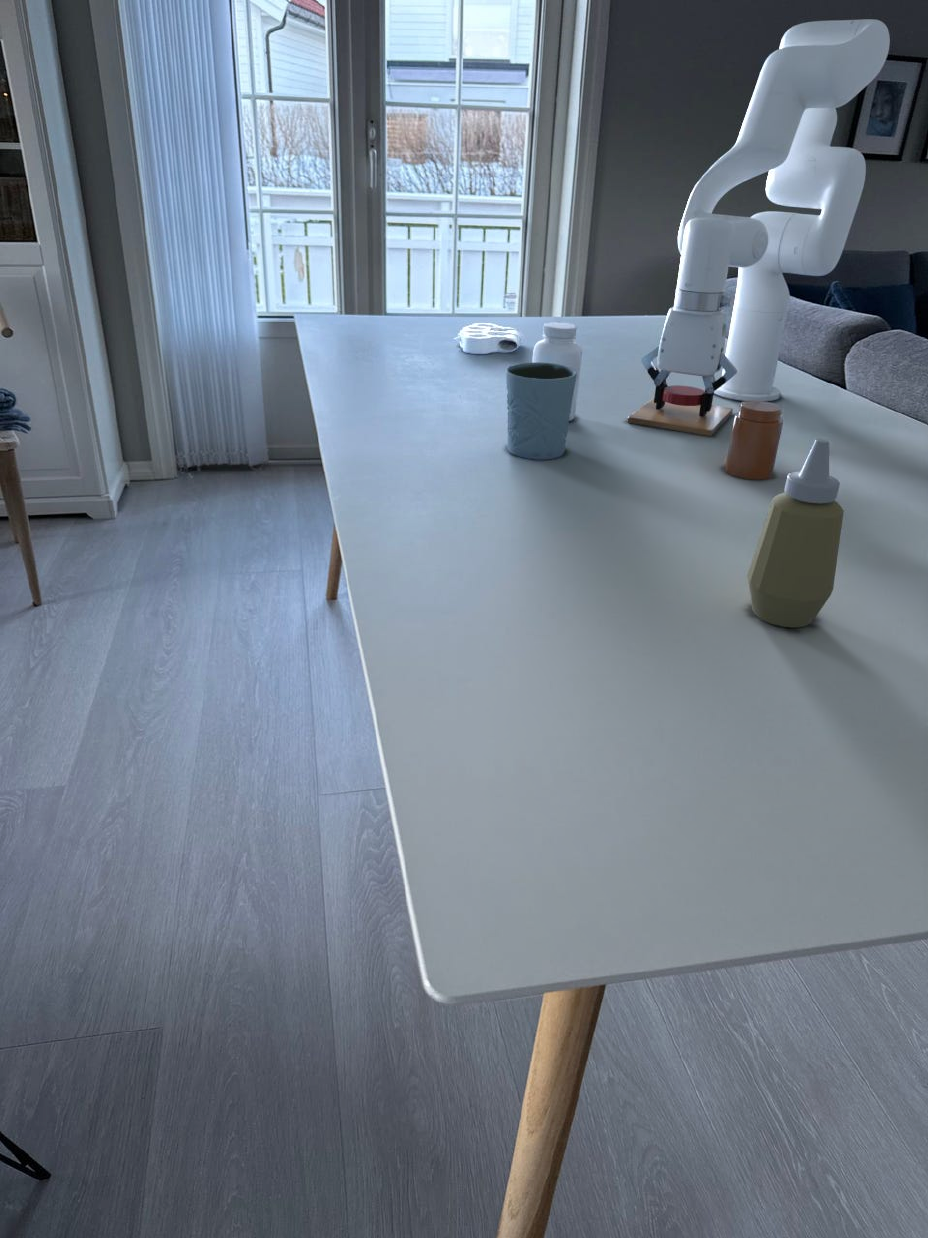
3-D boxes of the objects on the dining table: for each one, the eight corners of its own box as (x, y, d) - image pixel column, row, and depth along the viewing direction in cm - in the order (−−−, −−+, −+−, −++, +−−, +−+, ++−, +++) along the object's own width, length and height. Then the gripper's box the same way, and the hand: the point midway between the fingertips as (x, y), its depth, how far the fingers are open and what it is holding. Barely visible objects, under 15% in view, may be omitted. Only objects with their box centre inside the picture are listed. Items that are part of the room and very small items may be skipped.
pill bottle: (573, 425, 148) (582, 331, 141) (524, 420, 149) (531, 327, 142) (577, 412, 155) (586, 322, 148) (531, 408, 156) (538, 318, 149)
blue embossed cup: (575, 446, 138) (583, 366, 132) (560, 465, 129) (567, 381, 124) (512, 437, 140) (517, 359, 135) (493, 455, 132) (497, 373, 126)
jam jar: (730, 461, 134) (742, 397, 129) (775, 469, 131) (789, 404, 127) (720, 474, 128) (732, 407, 124) (768, 482, 126) (782, 414, 121)
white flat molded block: (515, 356, 193) (448, 352, 194) (523, 340, 208) (461, 336, 210) (516, 340, 191) (449, 336, 193) (524, 325, 207) (461, 321, 208)
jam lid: (655, 400, 152) (656, 390, 151) (672, 393, 157) (673, 383, 156) (693, 408, 148) (695, 397, 147) (710, 400, 153) (711, 390, 152)
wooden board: (654, 402, 163) (655, 396, 163) (732, 413, 158) (733, 408, 157) (627, 422, 150) (628, 416, 150) (710, 436, 145) (711, 430, 145)
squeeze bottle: (729, 597, 93) (762, 426, 85) (804, 596, 94) (844, 427, 86) (758, 635, 86) (798, 453, 78) (838, 634, 87) (887, 454, 78)
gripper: (757, 305, 145) (737, 414, 153) (652, 293, 151) (638, 399, 160) (748, 310, 139) (727, 424, 147) (639, 298, 145) (625, 408, 154)
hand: (681, 410), depth 153 cm, fingers closed on jam lid, 6 cm apart
